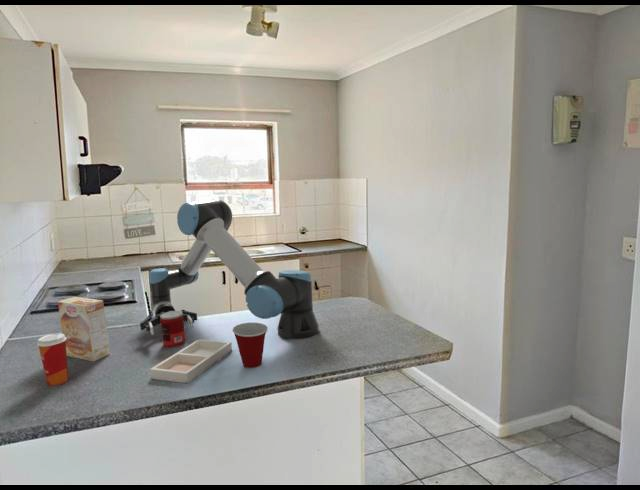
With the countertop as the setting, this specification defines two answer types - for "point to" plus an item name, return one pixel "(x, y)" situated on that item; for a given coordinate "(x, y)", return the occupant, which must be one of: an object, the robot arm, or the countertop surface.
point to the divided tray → (191, 361)
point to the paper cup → (54, 358)
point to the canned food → (172, 328)
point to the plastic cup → (250, 342)
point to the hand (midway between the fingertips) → (172, 327)
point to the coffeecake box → (84, 328)
